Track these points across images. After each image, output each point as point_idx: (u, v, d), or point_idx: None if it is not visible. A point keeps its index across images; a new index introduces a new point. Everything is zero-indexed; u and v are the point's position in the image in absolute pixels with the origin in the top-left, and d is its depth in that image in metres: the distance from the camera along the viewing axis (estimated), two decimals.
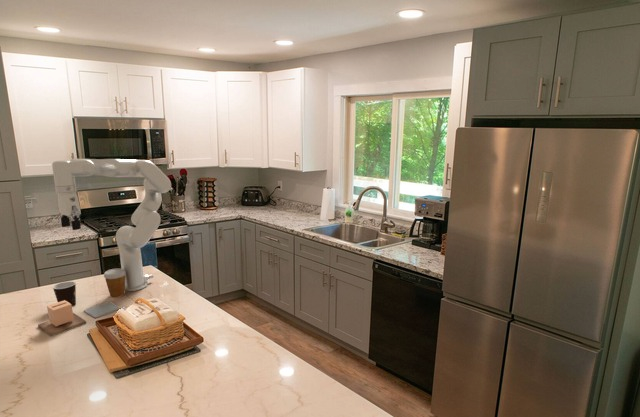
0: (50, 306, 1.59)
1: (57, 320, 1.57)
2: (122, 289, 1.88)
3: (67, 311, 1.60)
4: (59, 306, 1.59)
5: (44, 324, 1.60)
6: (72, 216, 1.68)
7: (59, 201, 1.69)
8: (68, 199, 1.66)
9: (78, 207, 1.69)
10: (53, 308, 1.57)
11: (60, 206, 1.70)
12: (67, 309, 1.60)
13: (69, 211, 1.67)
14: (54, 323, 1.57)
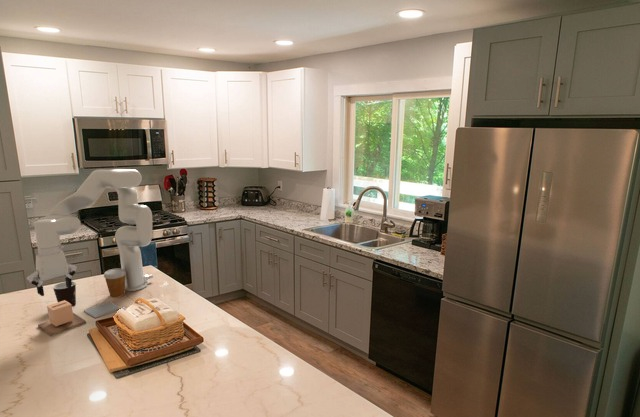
0: (50, 306, 1.59)
1: (57, 320, 1.57)
2: (122, 289, 1.88)
3: (67, 311, 1.60)
4: (59, 306, 1.59)
5: (44, 324, 1.60)
6: (68, 274, 1.60)
7: (48, 265, 1.53)
8: (64, 257, 1.58)
9: None
10: (53, 308, 1.57)
11: (49, 270, 1.53)
12: (67, 309, 1.60)
13: (67, 269, 1.59)
14: (54, 323, 1.57)
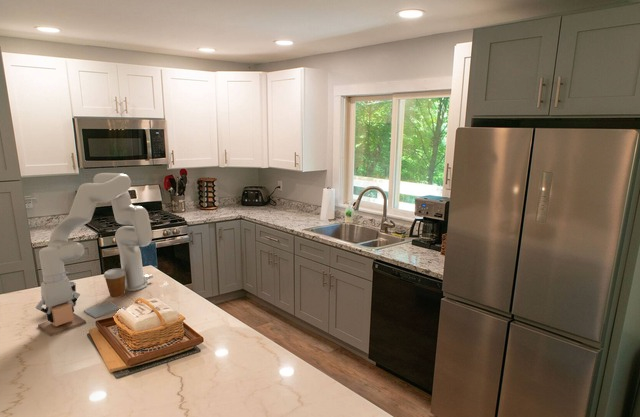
0: None
1: (57, 320, 1.57)
2: (122, 289, 1.88)
3: (67, 311, 1.60)
4: (59, 306, 1.59)
5: (44, 324, 1.60)
6: (71, 301, 1.62)
7: (53, 292, 1.55)
8: (69, 283, 1.61)
9: None
10: (53, 308, 1.57)
11: (54, 296, 1.56)
12: (67, 309, 1.60)
13: (72, 294, 1.62)
14: (54, 323, 1.57)
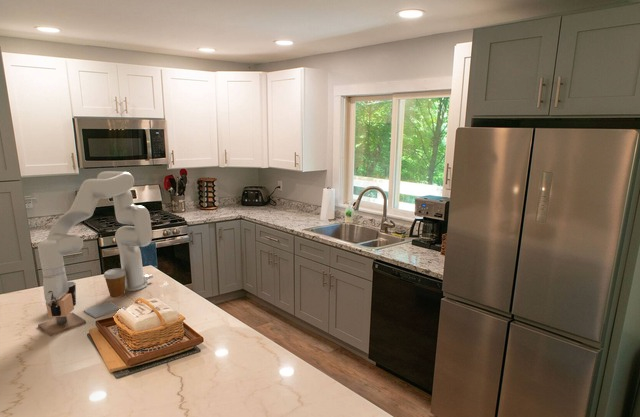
0: None
1: (66, 310, 1.59)
2: (122, 289, 1.88)
3: (70, 300, 1.62)
4: (62, 297, 1.59)
5: (44, 324, 1.60)
6: (66, 293, 1.64)
7: (59, 283, 1.56)
8: None
9: None
10: (59, 300, 1.57)
11: (61, 288, 1.57)
12: (70, 298, 1.62)
13: None
14: (62, 314, 1.58)
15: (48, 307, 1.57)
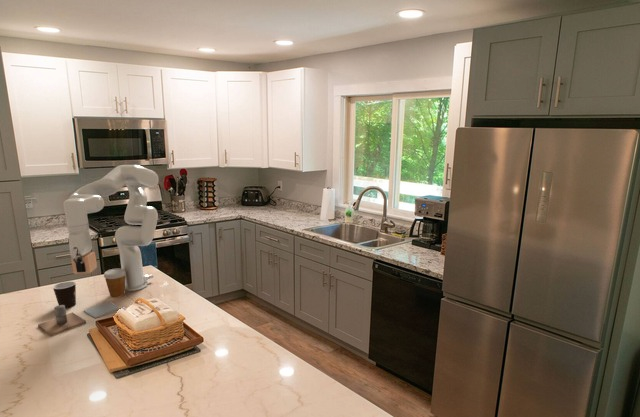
0: None
1: (90, 267, 1.64)
2: (122, 289, 1.88)
3: (93, 258, 1.67)
4: (86, 255, 1.65)
5: (44, 324, 1.60)
6: (90, 251, 1.69)
7: (84, 241, 1.62)
8: None
9: None
10: (83, 256, 1.63)
11: (85, 245, 1.63)
12: (93, 256, 1.67)
13: None
14: (87, 271, 1.64)
15: (73, 263, 1.62)
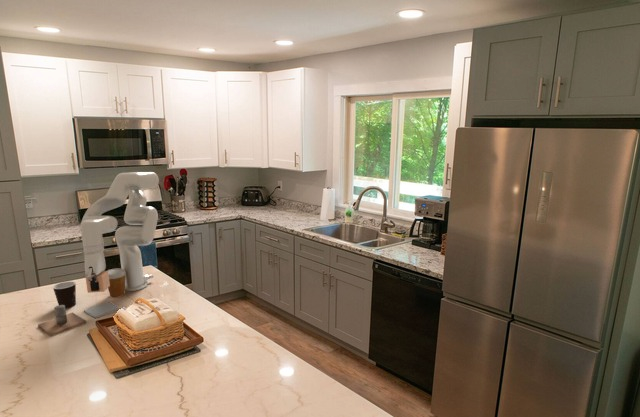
0: None
1: (104, 285, 1.69)
2: (122, 289, 1.88)
3: (107, 277, 1.73)
4: (100, 274, 1.70)
5: (44, 324, 1.60)
6: (103, 270, 1.75)
7: (99, 260, 1.67)
8: None
9: None
10: (98, 275, 1.68)
11: (100, 265, 1.68)
12: (107, 275, 1.73)
13: None
14: (100, 289, 1.69)
15: (88, 282, 1.67)
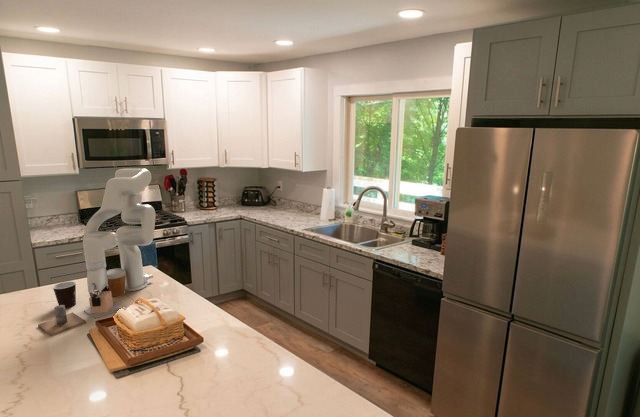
0: None
1: (107, 306, 1.71)
2: (122, 289, 1.88)
3: (110, 297, 1.75)
4: (103, 294, 1.72)
5: (44, 324, 1.60)
6: (106, 283, 1.77)
7: (101, 277, 1.69)
8: None
9: None
10: (101, 296, 1.70)
11: (102, 281, 1.70)
12: (110, 295, 1.75)
13: None
14: (104, 310, 1.71)
15: (91, 303, 1.69)
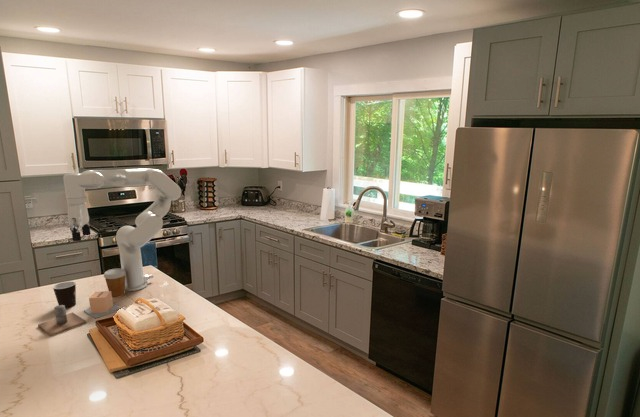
0: (94, 297, 1.70)
1: (107, 306, 1.71)
2: (122, 289, 1.88)
3: (110, 297, 1.75)
4: (103, 294, 1.72)
5: (44, 324, 1.60)
6: (87, 222, 1.83)
7: (82, 212, 1.75)
8: None
9: None
10: (101, 296, 1.70)
11: (82, 217, 1.75)
12: (110, 295, 1.75)
13: None
14: (104, 310, 1.71)
15: (91, 303, 1.69)
